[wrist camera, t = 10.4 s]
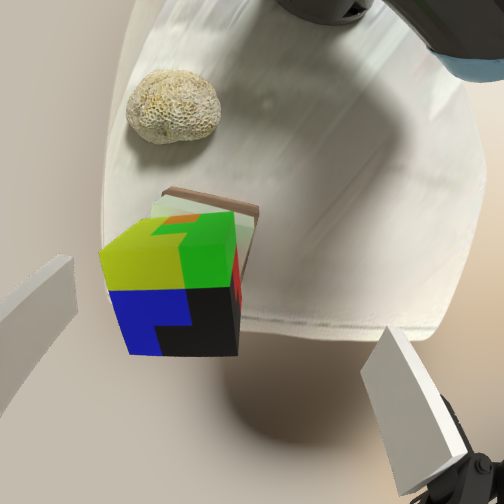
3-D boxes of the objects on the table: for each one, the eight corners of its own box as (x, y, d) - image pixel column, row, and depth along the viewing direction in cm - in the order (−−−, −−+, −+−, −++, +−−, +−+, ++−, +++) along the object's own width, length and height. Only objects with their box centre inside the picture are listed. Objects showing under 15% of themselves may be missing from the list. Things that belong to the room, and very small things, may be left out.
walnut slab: (172, 185, 38) (162, 192, 33) (258, 205, 39) (259, 213, 34) (160, 264, 42) (150, 279, 38) (238, 282, 43) (236, 299, 39)
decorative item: (218, 48, 28) (222, 114, 27) (218, 88, 36) (222, 148, 36) (119, 62, 26) (109, 130, 26) (136, 98, 35) (132, 159, 34)
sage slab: (165, 194, 34) (152, 202, 29) (253, 217, 35) (254, 228, 30) (152, 274, 37) (139, 291, 33) (231, 295, 38) (228, 316, 34)
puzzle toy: (158, 301, 33) (129, 354, 24) (141, 219, 30) (98, 252, 20) (241, 298, 33) (237, 356, 23) (233, 211, 29) (225, 243, 20)
